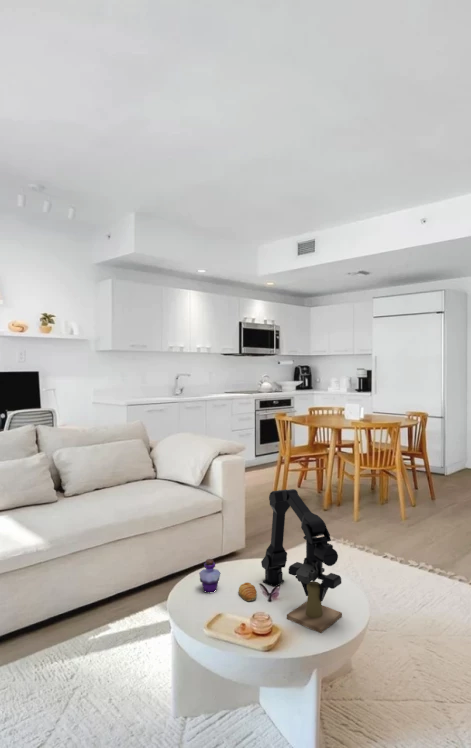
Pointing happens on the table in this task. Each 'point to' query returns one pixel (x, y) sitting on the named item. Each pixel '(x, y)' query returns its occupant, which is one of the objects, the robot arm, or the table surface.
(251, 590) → the pastry
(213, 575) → the potion bottle
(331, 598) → the table surface
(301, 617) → the walnut board
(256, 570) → the table surface
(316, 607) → the olive rounded upright piece
